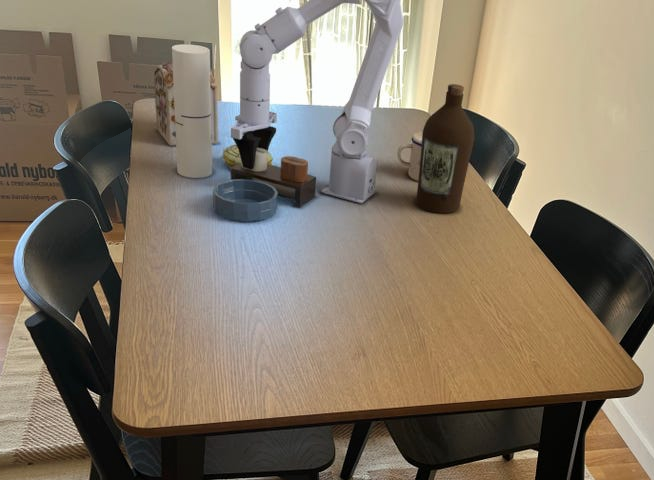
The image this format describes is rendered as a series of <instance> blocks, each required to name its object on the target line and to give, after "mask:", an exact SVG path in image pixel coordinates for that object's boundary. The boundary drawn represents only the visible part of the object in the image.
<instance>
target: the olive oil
mask: <svg viewBox="0 0 654 480" xmlns="http://www.w3.org/2000/svg"><path fill="white" fill-rule="evenodd" d="M464 91H465V87H464V86H463V85H461V84H456V83H449V84H448V85H447V91H446V94H445V102H444V104H443V105H442V106H441V107H440V108H438V109H437V110H436V111H435V112H434V113H432V114H431V115H430V116H429V117H428V119H426V121H425V124H424V126H423V129H422V132H423V134H422V146H421V158H420V169H419V180H418V181H417V188H416V189H417V192H416V200H415V202H416V203H415V204H416V205H417V206H418V207H419V208H421V209H423V210H425V211H427V212H431V213H436V214H452V213H456V212H457V211H459V209H460V206H461V201H462V196H463V192H464V186H465V181H466V177H467V173H468V168H469V164H470V158H471V155H472V151H473V147H474V142H475V129H474V125H473V122H472V120H471V119H470V118H469V116H468V115H467V113H466V111H465V110H464V109H463V98H464Z"/></svg>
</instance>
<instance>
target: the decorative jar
mask: <svg viewBox="0 0 654 480" xmlns="http://www.w3.org/2000/svg"><path fill="white" fill-rule="evenodd" d="M153 80H154V81H153V82H154V102H155V117H156V119H155V120H156V128H157V131H158V132H159V134H160V135H161V137H162V138H163V139H164V140H165V141H166V143H167V145H168V146H170V147H176V128H175V106H174V83H173V61H166V62H164V63H160V64H159V65H157V67H156V68H155V71H154V73H153ZM210 95H211V145H217V144H218V143H219V124H218V123H219V113H218V85H217V83H216V79H215V78H214V75H213V72H212V70H211V69H210Z"/></svg>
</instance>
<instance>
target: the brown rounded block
mask: <svg viewBox="0 0 654 480" xmlns="http://www.w3.org/2000/svg"><path fill="white" fill-rule="evenodd" d="M280 167H281V171H280V177H281V178H283V179H285V180H290V181H293V182H304V181H306V180H307V174H308V171H309V168H308V167H309V161H308V160H307V159H304V158H301V157H300V158H299V157H297V156H292V155H286V156H285V155H284V156H282V157H281V158H280Z"/></svg>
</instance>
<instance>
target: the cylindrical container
mask: <svg viewBox="0 0 654 480" xmlns="http://www.w3.org/2000/svg"><path fill="white" fill-rule="evenodd" d="M210 50H211V49H209V47H206V46H202V45H197V44H188V43H187V44H186V43H185V44H184V43H183V44H175V45H172V47H171V55H172V57H171V58H172V60H171V61H172V62H173V83H174V106H175V128H176V146H175V147H176V148H175V150H176V167H177V168H176V170H177V173H178V174H179V175H180V176H182V177H184V178H185V177H186V178H193V179H199V178H200V179H202V178H206V177H209V176H212V174H213V159H212V158H213V157H212V156H213V155H212V144H211V95H210V70H211V51H210Z"/></svg>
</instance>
